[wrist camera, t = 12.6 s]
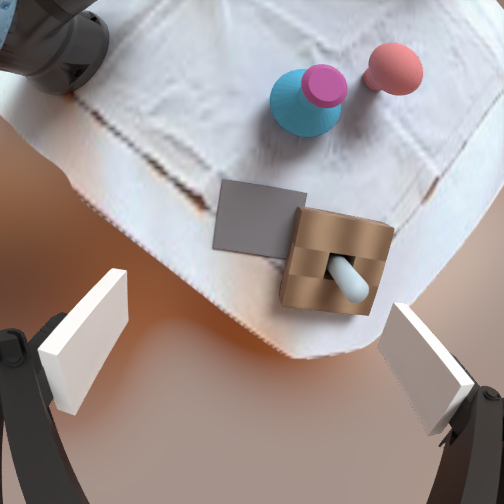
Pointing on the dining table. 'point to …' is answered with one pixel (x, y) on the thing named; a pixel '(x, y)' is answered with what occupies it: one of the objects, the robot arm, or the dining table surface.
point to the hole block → (316, 256)
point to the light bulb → (394, 70)
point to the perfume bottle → (308, 100)
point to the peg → (347, 278)
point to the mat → (256, 218)
